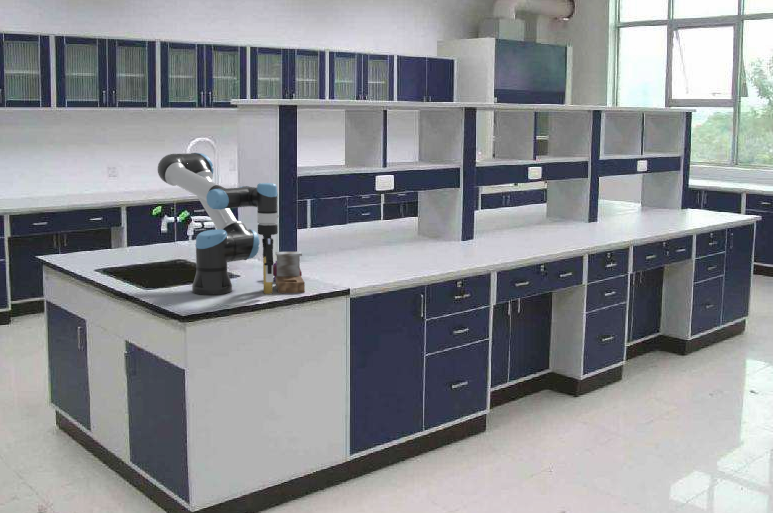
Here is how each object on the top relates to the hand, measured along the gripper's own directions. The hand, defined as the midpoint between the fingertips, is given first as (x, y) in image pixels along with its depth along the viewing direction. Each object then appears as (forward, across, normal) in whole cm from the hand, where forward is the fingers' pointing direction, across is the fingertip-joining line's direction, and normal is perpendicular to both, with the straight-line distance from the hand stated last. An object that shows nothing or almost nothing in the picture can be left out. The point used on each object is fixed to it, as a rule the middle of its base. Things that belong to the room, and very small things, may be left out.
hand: (268, 278), depth 323 cm
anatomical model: (+6, +26, -9) cm, 28 cm away
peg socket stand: (+6, +6, -9) cm, 12 cm away
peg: (+6, 0, 0) cm, 6 cm away
